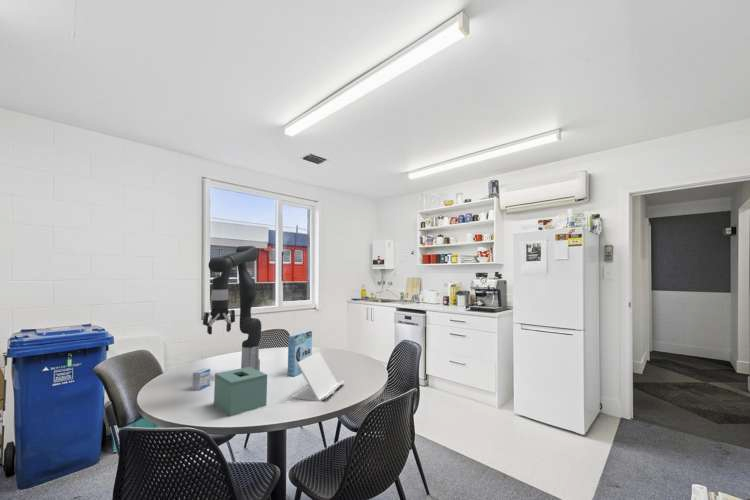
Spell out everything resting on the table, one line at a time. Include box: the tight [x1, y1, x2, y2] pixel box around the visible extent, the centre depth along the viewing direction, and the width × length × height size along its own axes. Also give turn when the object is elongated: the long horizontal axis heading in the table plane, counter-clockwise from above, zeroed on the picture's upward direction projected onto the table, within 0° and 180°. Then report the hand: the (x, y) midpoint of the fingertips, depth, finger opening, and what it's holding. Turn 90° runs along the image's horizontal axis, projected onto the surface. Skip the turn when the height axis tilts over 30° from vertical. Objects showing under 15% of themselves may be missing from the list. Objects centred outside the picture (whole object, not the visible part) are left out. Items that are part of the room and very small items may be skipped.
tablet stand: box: [291, 351, 345, 402], centre depth 169 cm, size 18×25×17 cm
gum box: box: [287, 330, 313, 377], centre depth 202 cm, size 20×5×23 cm, turn 160°
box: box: [213, 367, 268, 417], centre depth 150 cm, size 16×18×14 cm
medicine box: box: [191, 368, 211, 391], centre depth 173 cm, size 8×4×9 cm, turn 168°
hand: (219, 332), depth 160 cm, fingers open, 8 cm apart
